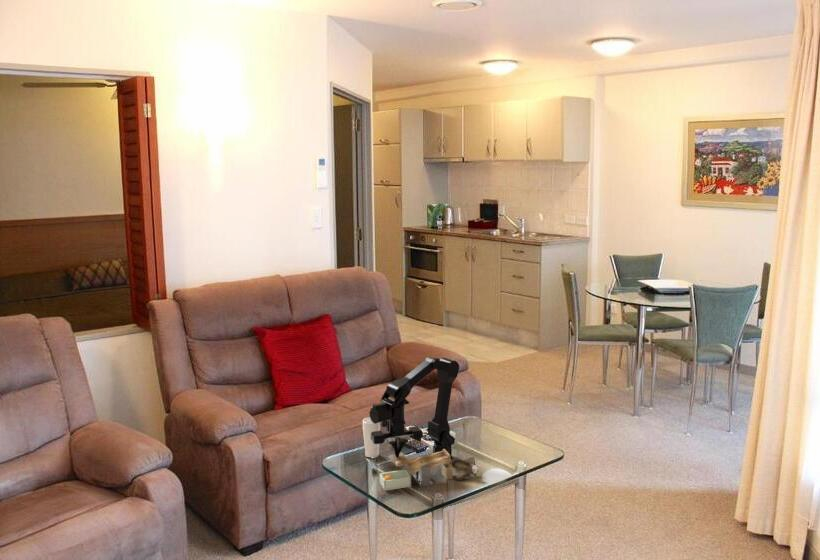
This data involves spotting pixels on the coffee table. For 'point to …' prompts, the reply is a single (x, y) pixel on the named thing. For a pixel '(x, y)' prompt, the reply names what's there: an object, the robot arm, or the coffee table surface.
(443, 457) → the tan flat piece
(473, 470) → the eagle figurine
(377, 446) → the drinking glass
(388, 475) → the ball
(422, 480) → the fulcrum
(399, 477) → the mint cubby shelf
